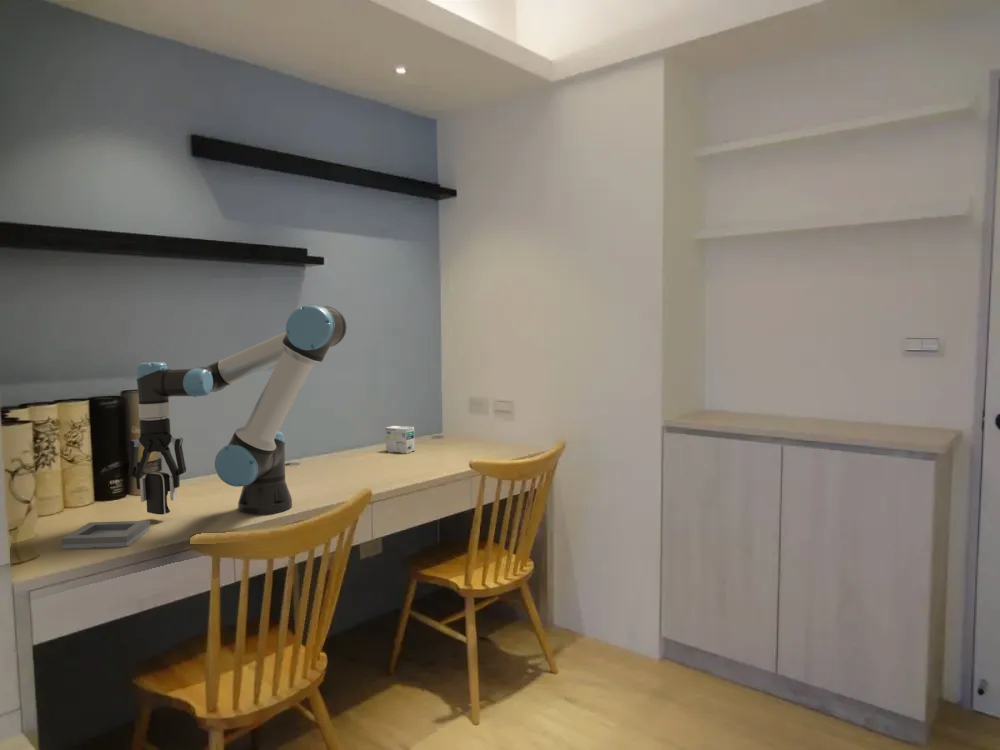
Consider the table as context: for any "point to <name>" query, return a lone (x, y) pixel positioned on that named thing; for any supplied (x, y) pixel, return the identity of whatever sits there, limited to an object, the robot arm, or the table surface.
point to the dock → (106, 534)
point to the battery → (157, 492)
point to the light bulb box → (400, 439)
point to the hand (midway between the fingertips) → (159, 499)
